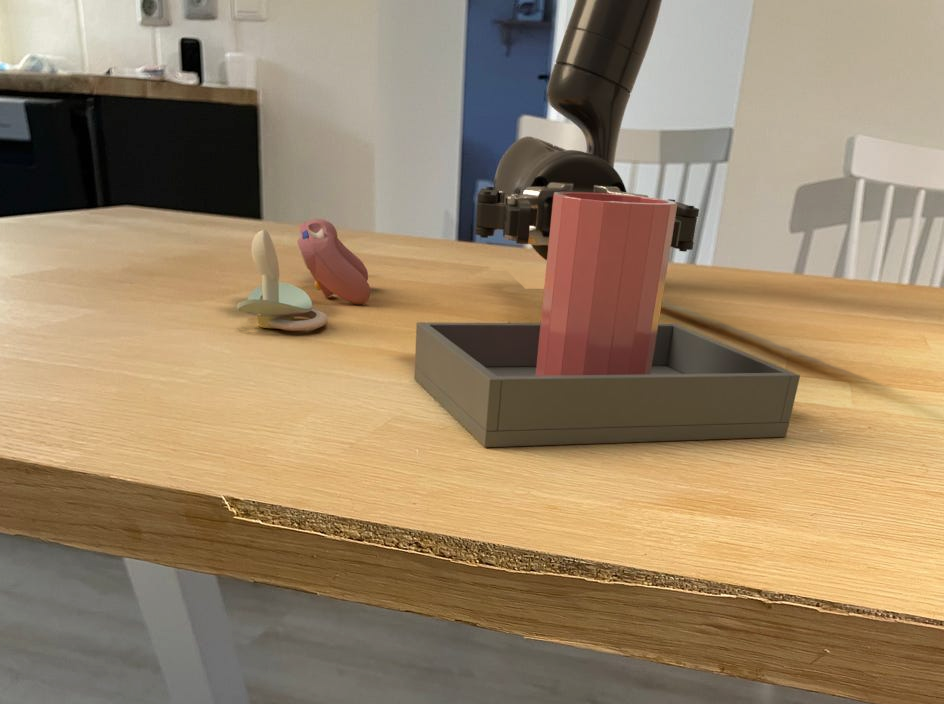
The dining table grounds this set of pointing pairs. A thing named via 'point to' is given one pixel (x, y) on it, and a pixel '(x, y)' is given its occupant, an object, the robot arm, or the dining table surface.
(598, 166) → the robot arm
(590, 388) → the shallow grey tray
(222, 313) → the dining table surface
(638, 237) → the tumbler
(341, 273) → the pink owl figurine
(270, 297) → the pacifier
